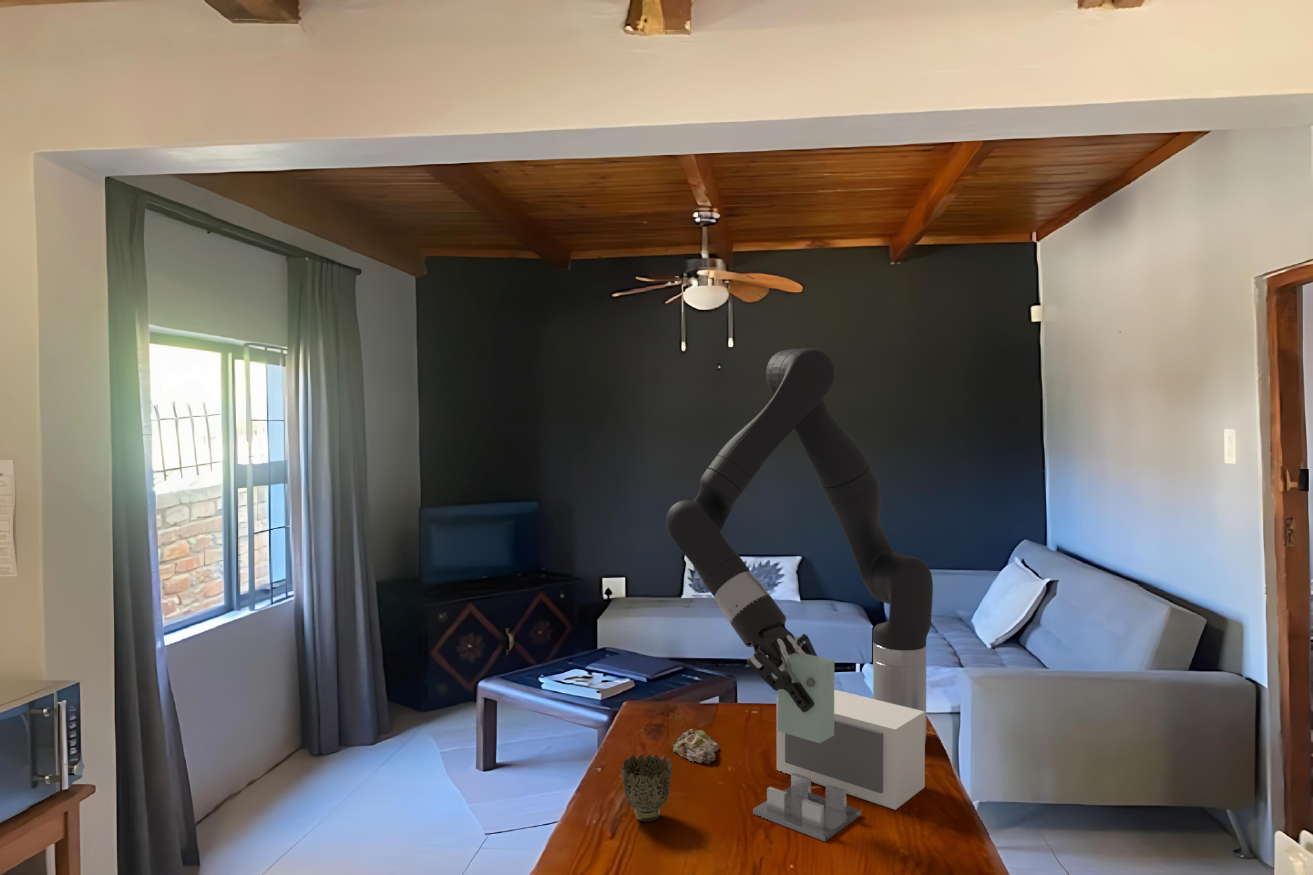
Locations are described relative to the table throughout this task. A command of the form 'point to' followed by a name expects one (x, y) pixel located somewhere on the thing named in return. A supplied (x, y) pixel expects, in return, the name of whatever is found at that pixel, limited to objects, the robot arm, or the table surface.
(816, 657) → the pale green rectangular box
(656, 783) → the cup
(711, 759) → the mineral rock
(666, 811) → the table surface
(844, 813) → the grey holder base
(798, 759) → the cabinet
